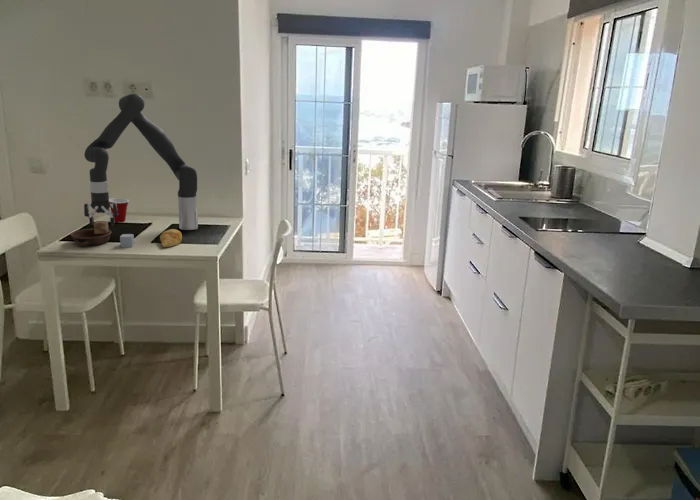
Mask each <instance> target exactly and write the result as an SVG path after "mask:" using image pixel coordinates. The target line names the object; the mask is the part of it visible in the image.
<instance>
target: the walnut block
mask: <svg viewBox="0 0 700 500" xmlns="http://www.w3.org/2000/svg"><path fill="white" fill-rule="evenodd" d="M93 229H94V231H95V234H106V233H107V232H108V231H109V230H110V229H109V221H108V220H96V221H94V225H93Z"/></svg>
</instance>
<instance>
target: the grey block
mask: <svg viewBox="0 0 700 500" xmlns="http://www.w3.org/2000/svg"><path fill="white" fill-rule="evenodd" d="M119 243H120V248H133V247H134V245H135V236H134V233H122V234H121V235H120V236H119Z"/></svg>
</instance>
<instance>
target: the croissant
mask: <svg viewBox="0 0 700 500" xmlns="http://www.w3.org/2000/svg"><path fill="white" fill-rule="evenodd" d="M182 239H183V235H182V232H181V231H180V230H178V229H177V228H171V229H167V230H165V231H163V232H162V233H160V235H159V240H160V242H161V245H162V247H163V248H170V247H174V246H177V245H180V244H182Z"/></svg>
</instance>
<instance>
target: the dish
mask: <svg viewBox="0 0 700 500" xmlns="http://www.w3.org/2000/svg"><path fill="white" fill-rule="evenodd" d="M111 234H112V230H110V229H109V231H108V232H107V233H106V234H95V231H94V228H85V229H79V230H75V231H73V232H71V233H70V236H71V237H72V240H73V241H74V243H75V244H76V245H77V246H79V247H85V246H88V247H89V246H90V247H91V246H98V245H102V244H105V243H107V242H109V241H110V238H111Z"/></svg>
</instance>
